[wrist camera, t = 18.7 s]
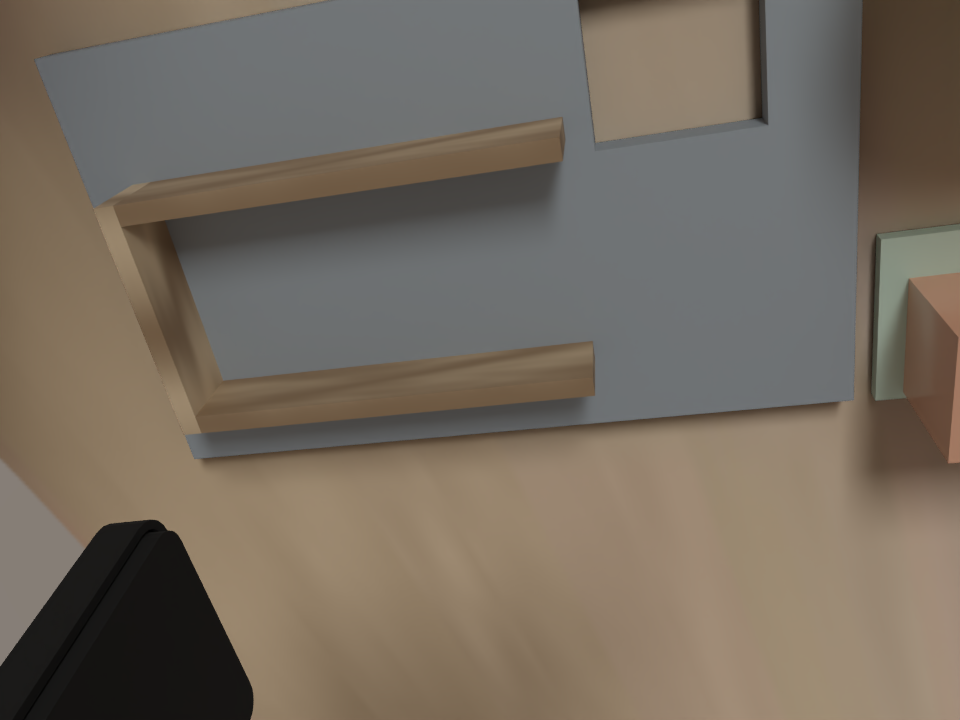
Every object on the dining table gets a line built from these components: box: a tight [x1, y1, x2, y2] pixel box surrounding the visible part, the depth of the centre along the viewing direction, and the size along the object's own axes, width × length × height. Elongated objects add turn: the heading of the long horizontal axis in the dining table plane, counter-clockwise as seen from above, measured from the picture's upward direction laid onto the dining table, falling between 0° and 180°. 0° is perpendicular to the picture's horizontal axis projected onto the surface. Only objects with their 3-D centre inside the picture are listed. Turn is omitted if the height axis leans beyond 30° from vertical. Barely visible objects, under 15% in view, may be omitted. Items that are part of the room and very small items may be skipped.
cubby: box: [93, 117, 595, 435], centre depth 33 cm, size 10×17×3 cm, turn 100°
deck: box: [34, 0, 863, 459], centre depth 33 cm, size 18×29×1 cm, turn 100°
